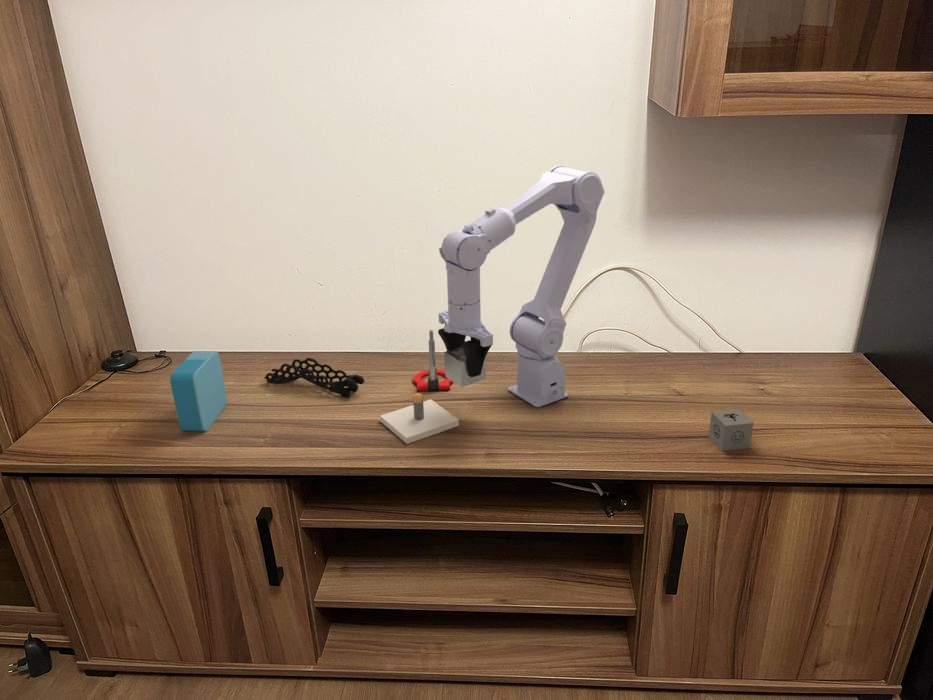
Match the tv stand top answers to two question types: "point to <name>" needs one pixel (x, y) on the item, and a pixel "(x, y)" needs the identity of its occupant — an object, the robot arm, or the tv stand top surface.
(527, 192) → the robot arm
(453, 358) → the hollow square tube
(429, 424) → the plate
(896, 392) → the tv stand top surface
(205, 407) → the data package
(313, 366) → the decorative element
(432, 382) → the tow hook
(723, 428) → the dice cube
